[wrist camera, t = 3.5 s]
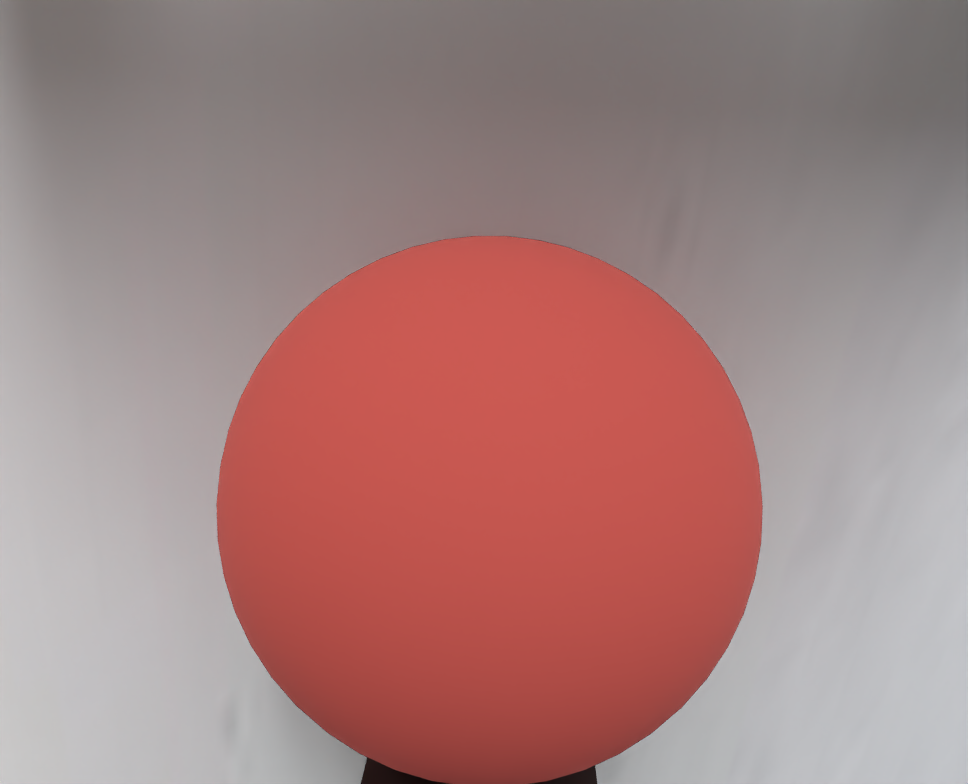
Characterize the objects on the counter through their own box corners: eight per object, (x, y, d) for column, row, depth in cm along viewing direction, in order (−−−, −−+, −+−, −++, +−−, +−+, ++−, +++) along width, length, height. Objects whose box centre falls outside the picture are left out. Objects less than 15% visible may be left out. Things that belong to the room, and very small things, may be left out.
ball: (315, 331, 13) (186, 100, 7) (686, 355, 13) (846, 139, 7) (261, 728, 11) (38, 827, 6) (686, 759, 11) (894, 891, 6)
